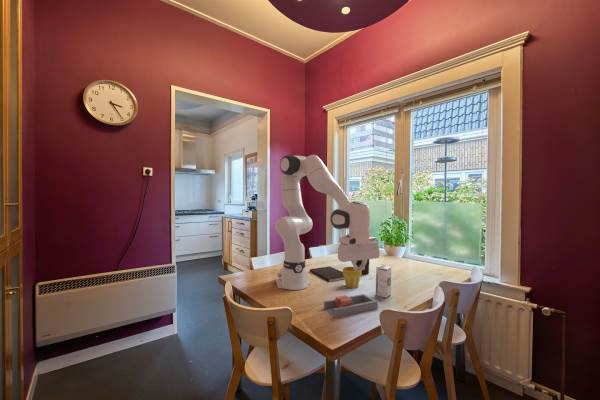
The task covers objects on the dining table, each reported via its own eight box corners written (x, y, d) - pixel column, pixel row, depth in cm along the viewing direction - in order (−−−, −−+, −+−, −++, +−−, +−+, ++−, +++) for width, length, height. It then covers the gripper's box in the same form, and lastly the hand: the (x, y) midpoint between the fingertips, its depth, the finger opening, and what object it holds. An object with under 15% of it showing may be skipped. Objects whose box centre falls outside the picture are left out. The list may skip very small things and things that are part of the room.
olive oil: (373, 273, 163) (373, 234, 163) (362, 276, 157) (362, 236, 157) (360, 269, 172) (360, 233, 172) (349, 272, 165) (350, 234, 165)
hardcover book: (329, 269, 173) (329, 266, 173) (350, 279, 153) (350, 275, 152) (309, 272, 166) (309, 269, 166) (328, 283, 145) (328, 279, 145)
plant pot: (339, 283, 142) (339, 266, 142) (356, 282, 145) (356, 265, 145) (347, 290, 132) (347, 271, 132) (365, 288, 135) (365, 270, 135)
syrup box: (379, 292, 130) (380, 264, 130) (391, 295, 126) (391, 266, 126) (375, 295, 125) (375, 266, 125) (387, 298, 122) (387, 268, 122)
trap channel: (323, 310, 108) (323, 301, 108) (363, 302, 117) (363, 293, 117) (335, 320, 100) (335, 309, 100) (377, 310, 108) (377, 301, 108)
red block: (335, 308, 108) (335, 296, 108) (345, 306, 110) (345, 295, 110) (341, 313, 103) (341, 301, 103) (351, 311, 106) (352, 299, 105)
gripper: (373, 236, 117) (373, 265, 117) (335, 238, 109) (335, 270, 109) (382, 238, 111) (382, 269, 111) (344, 241, 103) (343, 274, 103)
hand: (359, 269), depth 110 cm, fingers closed
